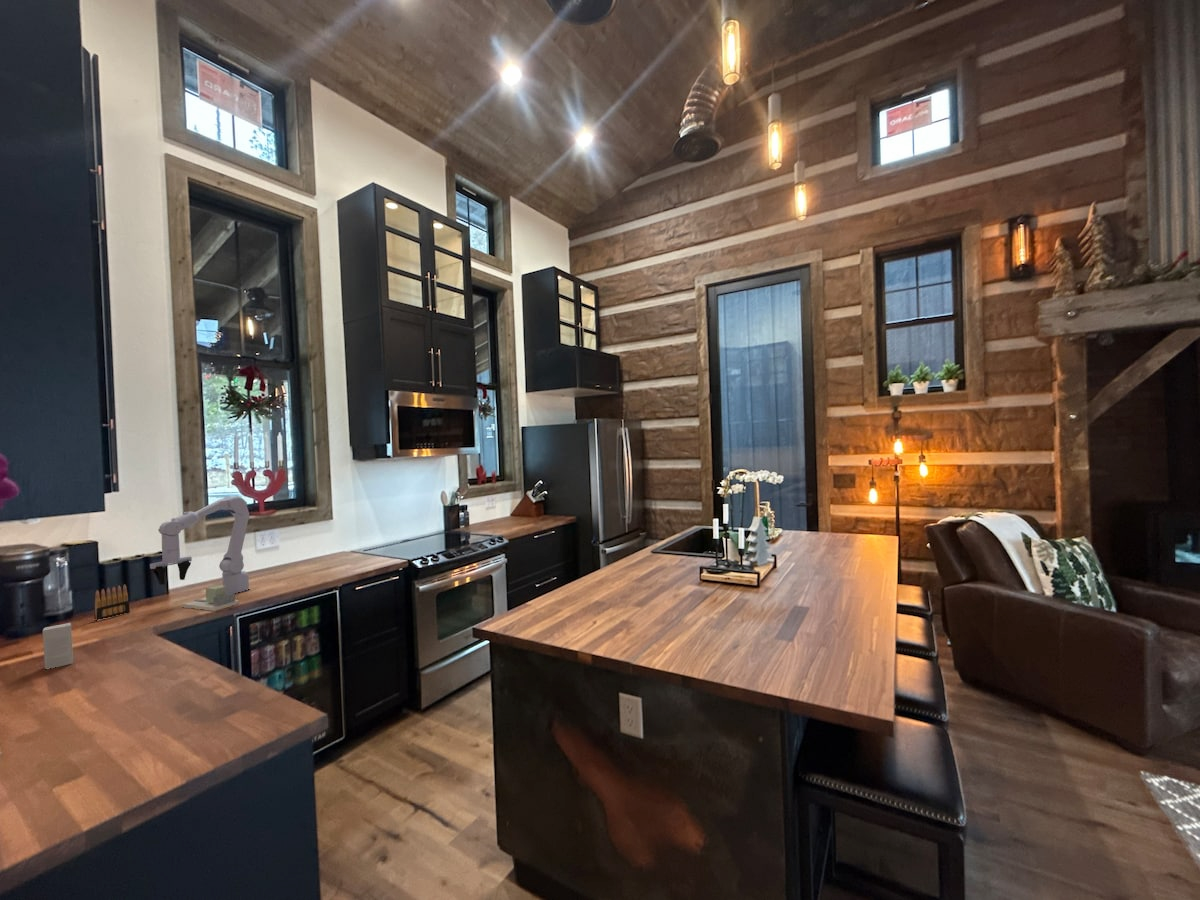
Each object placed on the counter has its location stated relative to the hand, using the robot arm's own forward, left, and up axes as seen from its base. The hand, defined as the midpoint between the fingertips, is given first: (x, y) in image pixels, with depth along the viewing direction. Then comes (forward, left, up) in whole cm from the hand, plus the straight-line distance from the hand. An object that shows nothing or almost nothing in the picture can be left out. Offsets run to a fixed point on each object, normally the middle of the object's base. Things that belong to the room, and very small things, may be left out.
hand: (172, 581), depth 219 cm
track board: (-5, +16, -10) cm, 20 cm away
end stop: (-5, +25, -9) cm, 27 cm away
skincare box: (+51, +35, -11) cm, 63 cm away
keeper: (-5, +19, -8) cm, 22 cm away
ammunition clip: (+16, -10, -11) cm, 22 cm away
